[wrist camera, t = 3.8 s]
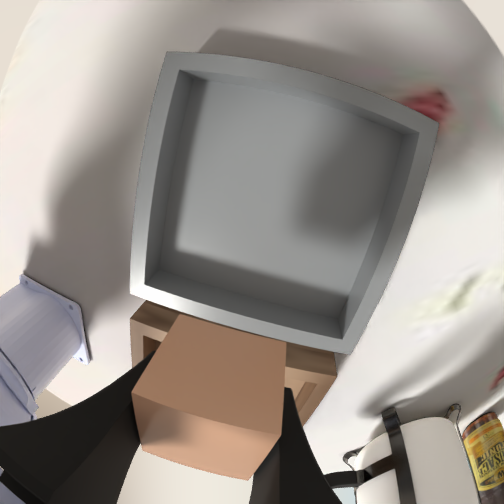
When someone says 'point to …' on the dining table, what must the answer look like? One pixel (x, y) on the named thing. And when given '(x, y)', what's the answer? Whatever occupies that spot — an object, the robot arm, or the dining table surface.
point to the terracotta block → (212, 398)
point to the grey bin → (274, 197)
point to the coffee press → (412, 465)
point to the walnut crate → (297, 356)
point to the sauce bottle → (487, 456)
